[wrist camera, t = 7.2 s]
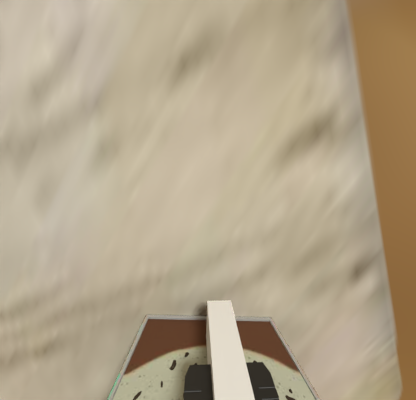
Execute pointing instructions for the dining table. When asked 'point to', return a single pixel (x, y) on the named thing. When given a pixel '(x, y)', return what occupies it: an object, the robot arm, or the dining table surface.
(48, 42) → the dining table surface
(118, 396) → the food container
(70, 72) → the dining table surface
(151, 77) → the dining table surface
